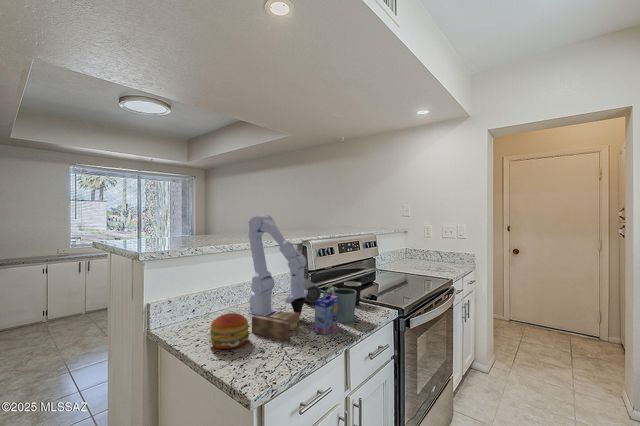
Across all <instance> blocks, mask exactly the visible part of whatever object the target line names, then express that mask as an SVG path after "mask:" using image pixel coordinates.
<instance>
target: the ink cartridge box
mask: <svg viewBox="0 0 640 426" xmlns="http://www.w3.org/2000/svg"><path fill="white" fill-rule="evenodd" d="M329 294H330V295H329ZM329 294H328V295H325V296H323V295H322V297H320V298H319V299H317V300H316V301H315V302H314V332H315V333H319V334H322V335H325V336H326V335H328V334H330V333H331V332H332V331H334V330H335V329H336V328H337V327H338V326H339V322H338V297H337V296H333V295H331V294H332V292H331V293H329Z"/></svg>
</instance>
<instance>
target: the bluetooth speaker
mask: <svg viewBox="0 0 640 426" xmlns="http://www.w3.org/2000/svg"><path fill="white" fill-rule="evenodd" d="M304 290H308V295H306V297H302V298H305V302H306V303H307V302H308V303H315V301H316V300H317V299H319V298H321V295H322V293H321V289H320V288H319V286H318V285H316V284H315V283H314V282H312V281H311V280H310V279H308V278H305V277H304Z"/></svg>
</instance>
